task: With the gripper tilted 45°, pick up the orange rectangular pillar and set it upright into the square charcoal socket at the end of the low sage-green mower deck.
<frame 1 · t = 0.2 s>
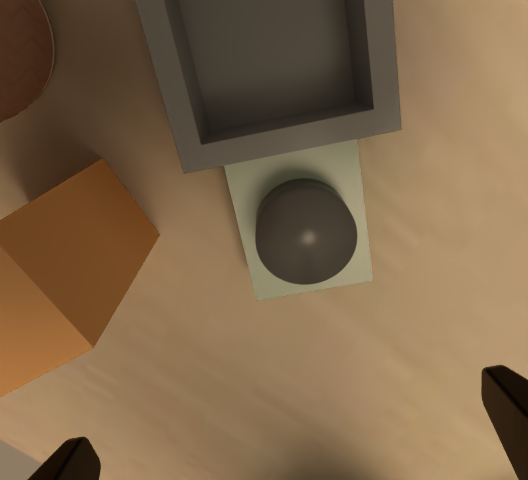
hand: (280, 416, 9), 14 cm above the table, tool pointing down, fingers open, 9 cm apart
mower deck: (267, 37, 19), on the table
orange rectangular pillar: (96, 220, 23), on the table
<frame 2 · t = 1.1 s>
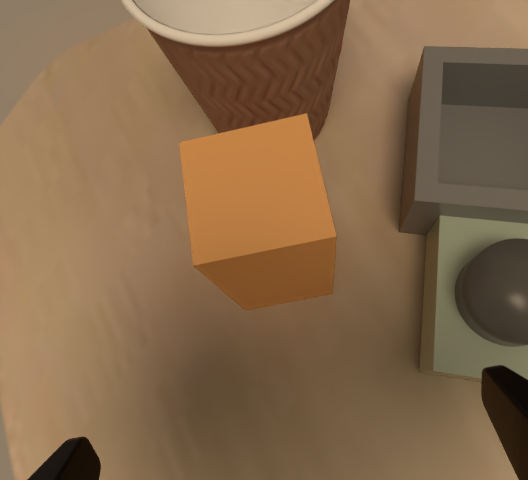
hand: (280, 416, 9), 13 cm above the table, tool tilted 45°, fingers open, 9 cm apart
mower deck: (484, 168, 24), on the table
orange rectangular pillar: (280, 260, 24), on the table
coffee cup: (272, 118, 28), on the table
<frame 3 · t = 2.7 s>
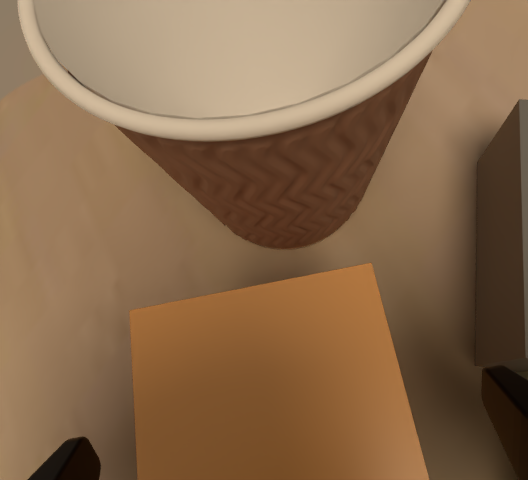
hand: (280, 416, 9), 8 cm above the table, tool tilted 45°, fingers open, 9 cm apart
orange rectangular pillar: (301, 402, 17), on the table
coffee cup: (287, 184, 20), on the table
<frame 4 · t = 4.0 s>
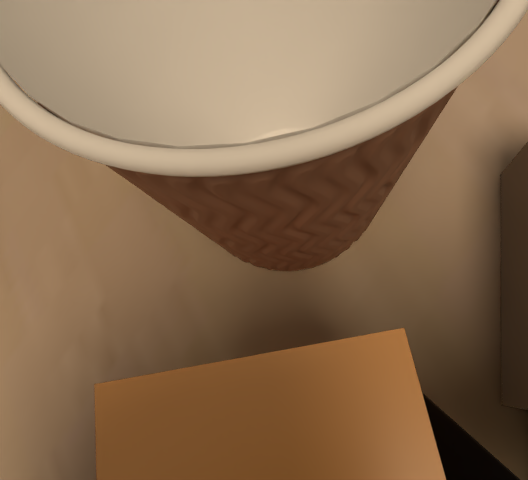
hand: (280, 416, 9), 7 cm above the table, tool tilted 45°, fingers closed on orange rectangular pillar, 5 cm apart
orange rectangular pillar: (306, 444, 15), on the table, touching gripper
coffee cup: (290, 197, 19), on the table
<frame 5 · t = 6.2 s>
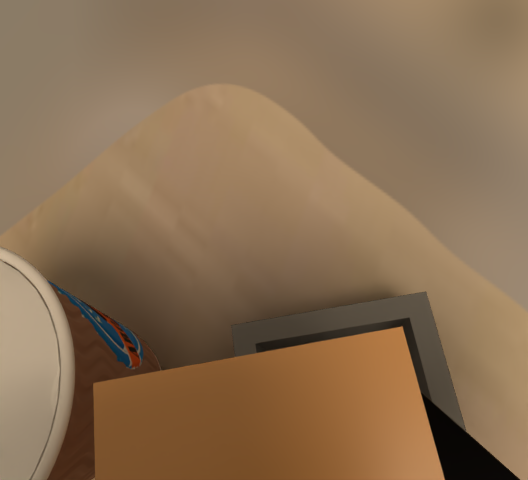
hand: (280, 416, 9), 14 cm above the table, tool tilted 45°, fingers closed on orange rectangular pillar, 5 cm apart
mower deck: (344, 408, 22), on the table
orange rectangular pillar: (305, 443, 15), point 7 cm above the table, touching gripper
coffee cup: (108, 392, 24), on the table
when the fingers open (8 cm above the table, at t = 8.4 s): orange rectangular pillar stays where it is, resting on mower deck.
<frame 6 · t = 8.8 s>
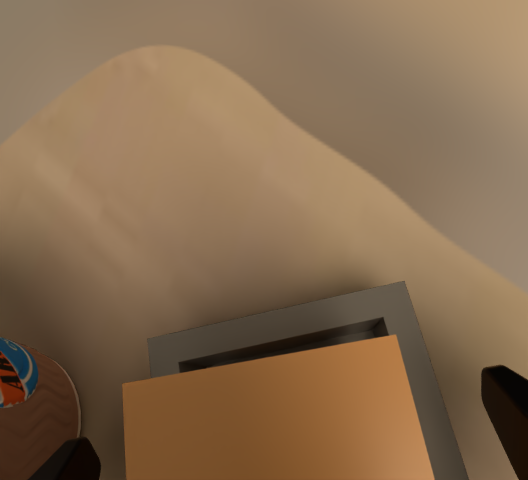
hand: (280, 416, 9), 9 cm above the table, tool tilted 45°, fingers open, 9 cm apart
mower deck: (309, 437, 17), on the table
orange rectangular pillar: (307, 440, 16), point 1 cm above the table, touching mower deck
coffee cup: (13, 429, 19), on the table
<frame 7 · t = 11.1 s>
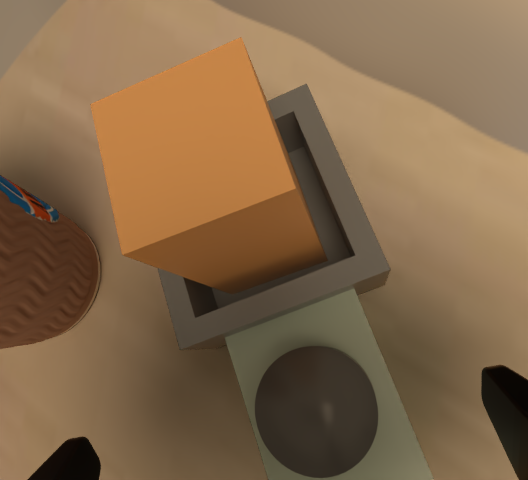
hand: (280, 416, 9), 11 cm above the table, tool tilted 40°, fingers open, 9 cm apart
mower deck: (268, 236, 22), on the table
orange rectangular pillar: (264, 231, 21), point 1 cm above the table, touching mower deck
coffee cup: (52, 279, 25), on the table
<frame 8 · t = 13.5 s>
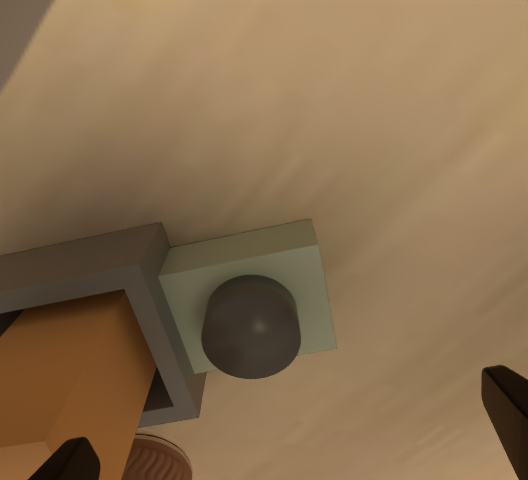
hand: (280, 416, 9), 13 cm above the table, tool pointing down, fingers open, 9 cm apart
mower deck: (110, 309, 24), on the table
orange rectangular pillar: (104, 320, 23), point 1 cm above the table, touching mower deck
coffee cup: (143, 465, 29), on the table
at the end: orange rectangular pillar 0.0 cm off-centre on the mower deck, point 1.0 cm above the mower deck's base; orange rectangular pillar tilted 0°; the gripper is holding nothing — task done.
